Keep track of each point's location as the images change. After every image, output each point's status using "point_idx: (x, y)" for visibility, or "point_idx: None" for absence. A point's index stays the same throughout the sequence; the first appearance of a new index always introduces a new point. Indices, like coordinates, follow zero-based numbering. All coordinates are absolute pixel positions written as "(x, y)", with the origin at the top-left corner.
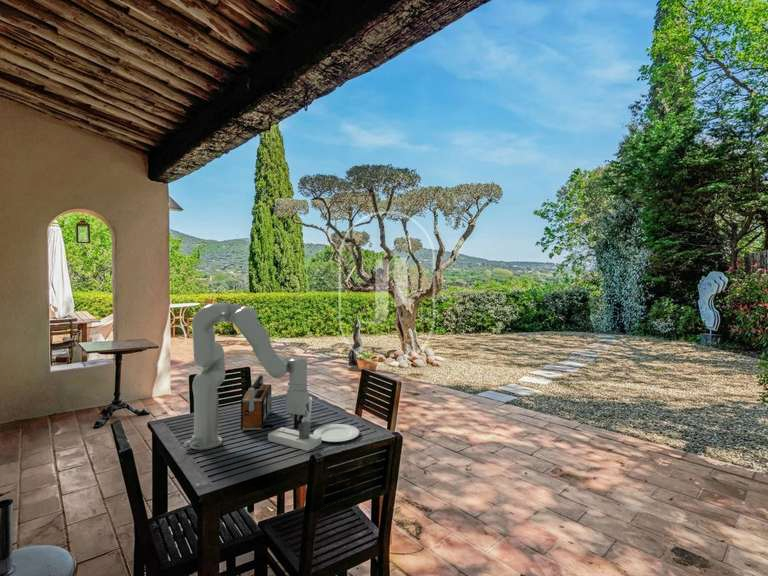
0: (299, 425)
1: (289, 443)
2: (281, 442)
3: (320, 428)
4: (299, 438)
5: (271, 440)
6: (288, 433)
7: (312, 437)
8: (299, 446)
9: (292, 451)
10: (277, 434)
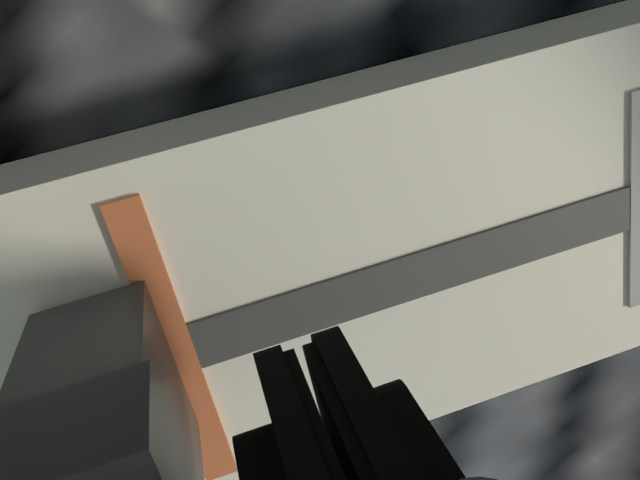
0: (83, 453)
1: (244, 111)
2: (411, 63)
3: None
4: (129, 278)
5: (602, 9)
6: (474, 257)
7: None
8: (11, 172)
9: (2, 5)
10: (597, 97)
